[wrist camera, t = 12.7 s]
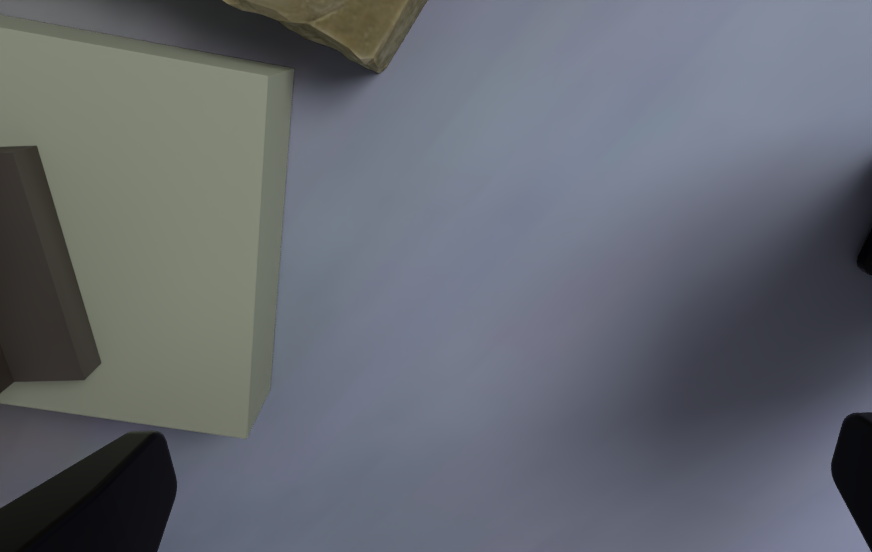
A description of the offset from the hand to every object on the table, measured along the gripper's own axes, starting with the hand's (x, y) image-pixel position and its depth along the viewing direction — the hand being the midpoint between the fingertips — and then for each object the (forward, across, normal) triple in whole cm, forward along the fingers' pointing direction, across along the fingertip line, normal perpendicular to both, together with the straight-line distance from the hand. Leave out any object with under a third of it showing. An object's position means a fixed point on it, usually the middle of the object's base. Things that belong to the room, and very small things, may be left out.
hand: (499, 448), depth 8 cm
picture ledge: (+13, +13, 0) cm, 19 cm away
